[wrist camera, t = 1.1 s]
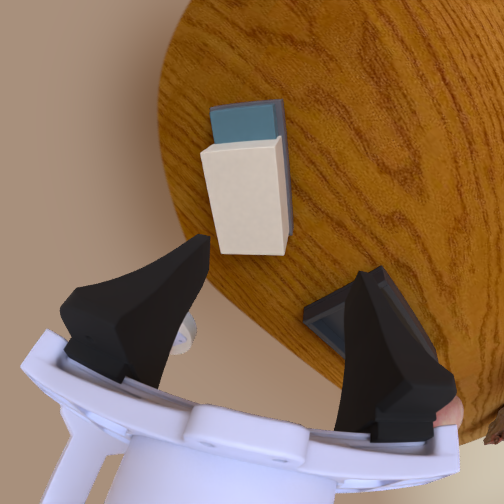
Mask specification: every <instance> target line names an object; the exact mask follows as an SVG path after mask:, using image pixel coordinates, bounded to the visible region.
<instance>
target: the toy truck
mask: <svg viewBox="0 0 504 504" xmlns="http://www.w3.org/2000/svg"><path fill="white" fill-rule="evenodd" d="M210 119H211V125H212V131H213V137H214V144H212V145H211V146H209V147H208V148H207V149H205V150H204V151H202V152H201V153H200V154H201V159H202V165H203V170H204V175H205V180H206V185H207V190H208V195H209V200H210V204H211V209H212V214H213V219H214V224H215V228H216V233H217V237H218V242H219V247H220V251H221V254H246V255H284V254H285V249H286V244H287V239H288V235H292V233H293V228H294V227H293V210H292V194H291V180H290V167H289V155H288V144H287V133H286V123H285V113H284V103H283V99H274V100H262V101H252V102H243V103H234V104H227V105H220V106H214V107H211V108H210Z"/></svg>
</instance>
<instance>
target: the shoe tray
mask: <svg viewBox="0 0 504 504" xmlns="http://www.w3.org/2000/svg"><path fill="white" fill-rule="evenodd" d="M369 273H371V275H372V276H373V278H374V279H375V281H376V283H377V284H378V286H379V288H380V289H381V291H382V293H383V294H384V296H385V298H386V299H387V301H388V303H389V304H390V306H391V307H392V309H393V310H394V312H395V313H396V315H397V316H398V318H399V319H400V321H401V322H402V323H403V325H404V326H405V327H406V329H407V330H408V331H409V333H410V334H411V335H412V336H413V337H414V339H415V340H416V341H417V342H418V343H419V344H420V345H421V346H422V347H423V349H424V350H425V351H426V352H427V353H428V354H429V355H430V356H432V357H433V358H434V359H435V360H436V361H437V362H438V358H437V353H436V349H435V347H434V346H433V344H432V342H431V340H430V339H429V337H428V335H427V334H426V332H425V330H424V329H423V327H422V325H421V324H420V322H419V321H418V319H417V317H416V316H415V314H414V313H413V311H412V309H411V308H410V306H409V305H408V303H407V302H406V300H405V299H404V297H403V296H402V294H401V292H400V291H399V290H398V288H397V287H396V285H395V284H394V282H393V281H392V279H391V278H390V276H389V275H388V273H387V272H386V271H385V269H384V268H383V266H382V265H381V266H379V267H378V268H376V269H374V270H373V271H371V272H369ZM353 283H354V281H353V282H351V283H349V284H348V285H346V286H344V287H342V288H340V289H338V290H337V291H335V292H333V293H331V294H329V295H327V296H325V297H323V298H321V299H319V300H318V301H316V302H314V303H312V304H310V305H308V306H306V307H304V315H303V323H304V324H305V325H307V326H308V327H309V328H310V329H311V330H312V331H313V332H314V333H315V334H317V335H318V336H319V337H320V338H321V339H322V340H323V341H324V342H326V343H327V344H328V345H329V346H330V347H331V348H332V349H334V350H335V351H336V352H337V353H338V354H339V355H340V356H342V357H343V358H344V359H345V341H344V307H345V300H346V298H347V296H348V294H349V291H350V289H351V287H352V285H353Z"/></svg>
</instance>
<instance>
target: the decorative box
mask: <svg viewBox="0 0 504 504" xmlns="http://www.w3.org/2000/svg"><path fill="white" fill-rule="evenodd" d="M483 441H484V445H487V444H498V443H499V442H501V441H504V407H503V408H502V409H500V410H499V412H498V415H497V417H496V419H495V421H493V422H492V423H490V424H489V430H488V433H487V435H486V438H485V439H484V440H483Z"/></svg>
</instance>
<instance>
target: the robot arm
mask: <svg viewBox="0 0 504 504" xmlns="http://www.w3.org/2000/svg"><path fill="white" fill-rule="evenodd" d="M209 258H210V236H206V235H202V234H197V235H196V236H194V237H193V238H191V239H190V240H188V241H187V242H185V243H184V244H182V245H181V246H179V247H178V248H176V249H174V250H173V251H172V252H170V253H168V254H167V255H165V256H163V257H161V258H160V259H158V260H157V261H154V262H153V263H151V264H149V265H147V266H145V267H143V268H141V269H139V270H136V271H134V272H131V273H129V274H126V275H124V276H121V277H119V278H115V279H112V280H109V281H106V282H102V283H98V284H94V285H88V286H83V287H78V288H76V289H75V290H74V291H73V292H72V294H71V295H70V296H69V297H68V298H67V300H66V301H65V302H64V303H63V304H62V306H61V307H60V315H61V318H62V320H63V322H64V324H65V326H66V328H67V329H68V331H69V333H70V335H71V337H72V338H71V339H70V340H69V342H68V341H67V340H66V339H65V338H63V337H62V336H60V335H58V334H57V333H55V332H53V331H51V330H50V329H46V330H45V332H44V333H43V334H42V336H41V337H40V338H39V340H38V341H37V343H36V344H35V345H34V347H33V348H32V350H31V351H30V352H29V354H28V356H27V357H26V358H25V360H24V361H23V363H22V364H21V366H20V367H21V369H22V370H23V371H24V372H25V373H26V375H27V376H28V377H29V378H30V379H31V380H32V381H33V382H34V383H35V384H36V385H37V386H38V387H39V388H40V389H41V390H42V391H43V392H44V393H45V394H47V395H48V396H49V397H51V398H52V399H53V400H55V401H56V402H58V403H59V404H60V408H61V409H60V413H61V416H62V418H63V420H64V422H65V424H66V426H67V428H68V430H69V433H70V435H71V436H70V438H69V440H68V442H67V444H66V446H65V448H64V450H63V452H62V454H61V456H60V458H59V460H58V462H57V465H56V467H55V469H54V471H53V473H52V475H51V477H50V480H49V482H48V484H47V486H46V489H45V492H44V494H43V496H42V498H41V501H40V503H39V504H85V501H86V499H87V497H88V495H89V493H90V490H91V488H92V486H93V484H94V482H95V479H96V477H97V475H98V473H99V471H100V468H101V466H102V464H103V462H104V460H105V458H106V456H108V455H116V454H124V457H123V459H122V461H121V464H120V466H119V468H118V471H117V473H116V476H115V478H114V480H113V482H112V485H111V488H110V490H109V492H108V495H107V497H106V500H105V502H104V504H334V497H335V493H355V492H356V493H357V492H371V491H381V490H390V489H398V488H404V487H412V486H418V485H424V484H428V483H431V482H433V481H436V480H439V479H442V478H445V477H447V476H450V475H452V474H455V473H457V472H459V471H460V458H459V442H458V431H457V425H456V424H452V425H441V426H437V427H434V428H433V422H434V421H436V419H437V417H436V413H437V412H438V411H439V410H441V409H442V408H443V407H445V406H446V405H448V404H449V403H450V402H451V401H452V400H453V399H454V397H455V396H456V393H457V390H456V385H455V380H454V375H453V374H452V373H450V372H449V371H448V370H447V369H445V368H444V367H443V366H442V365H440V364H439V363H438V362H437V361H436V360H435V359H434V358H433V357H432V356H430V355H429V354H428V353H427V352H426V351H425V350H424V349H423V347H422V346H421V345H420V344H419V343H418V342H417V341H416V340H415V339H414V337H413V336H412V335H411V334H410V333H409V331H408V330H407V329H406V327H405V326H404V325H403V323H402V322H401V321H400V319H399V318H398V316H397V315H396V313H395V312H394V310H393V309H392V307H391V306H390V304H389V303H388V301H387V299H386V298H385V296H384V294H383V293H382V291H381V289H380V288H379V286H378V284H377V283H376V281H375V279H374V278H373V276H372V275H371V273H367V272H363V271H359V272H358V274H357V276H356V279H355V281H354V283H353V285H352V287H351V289H350V291H349V294H348V296H347V298H346V300H345V307H344V341H345V369H344V379H343V387H342V393H341V400H340V405H339V410H338V415H337V420H336V424H335V428H334V431H329V430H320V429H312V428H305V427H304V426H302V425H301V424H296V423H293V422H289V421H284V420H278V419H273V418H268V417H263V416H259V415H254V414H250V413H245V412H241V411H237V410H233V409H229V408H225V407H222V406H217V405H212V404H198V403H195V402H192V401H189V400H186V399H183V398H180V397H177V396H174V395H172V394H169V393H166V392H163V391H161V390H158V387H159V384H160V380H161V377H162V374H163V370H164V368H165V365H166V362H167V359H168V356H169V354H170V351H171V348H172V347H173V346H176V345H179V344H182V343H185V342H186V341H187V338H186V337H185V336H183V335H182V334H181V333H180V332H179V328H180V326H181V324H182V322H183V320H184V318H185V316H186V315H187V313H188V311H189V309H190V307H191V306H192V303H193V302H194V300H195V299H196V297H197V295H198V293H199V291H200V290H201V288H202V286H203V283H204V281H205V279H206V276H207V274H208V271H209Z"/></svg>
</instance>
